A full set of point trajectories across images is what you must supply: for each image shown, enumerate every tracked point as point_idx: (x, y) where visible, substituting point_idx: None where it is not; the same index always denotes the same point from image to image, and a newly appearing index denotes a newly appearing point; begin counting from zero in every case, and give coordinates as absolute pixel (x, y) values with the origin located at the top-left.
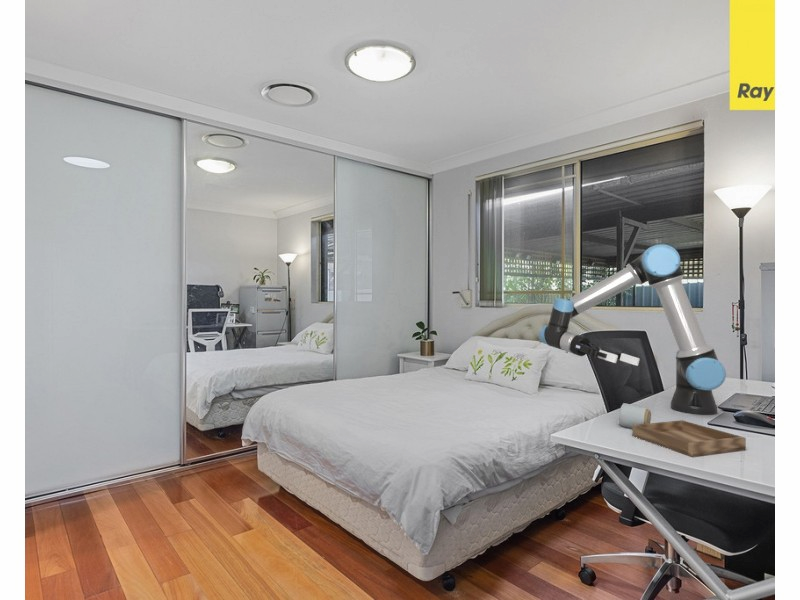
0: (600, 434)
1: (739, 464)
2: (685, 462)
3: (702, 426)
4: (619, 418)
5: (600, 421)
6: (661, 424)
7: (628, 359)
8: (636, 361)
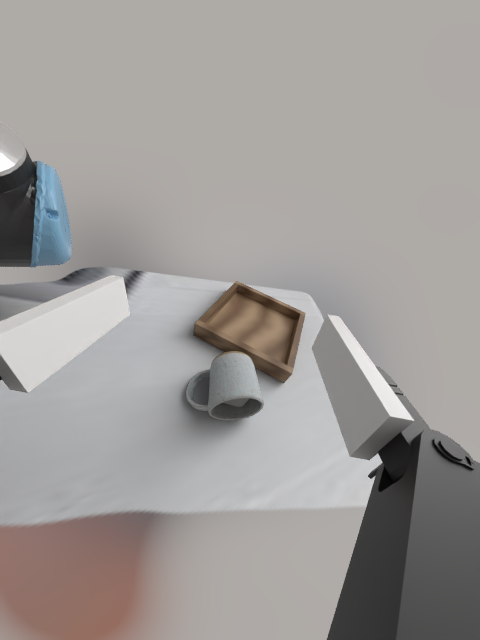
0: (322, 429)
1: (282, 298)
2: (318, 326)
3: (216, 304)
4: (259, 410)
5: (226, 486)
6: (242, 343)
7: (83, 326)
8: (122, 298)
